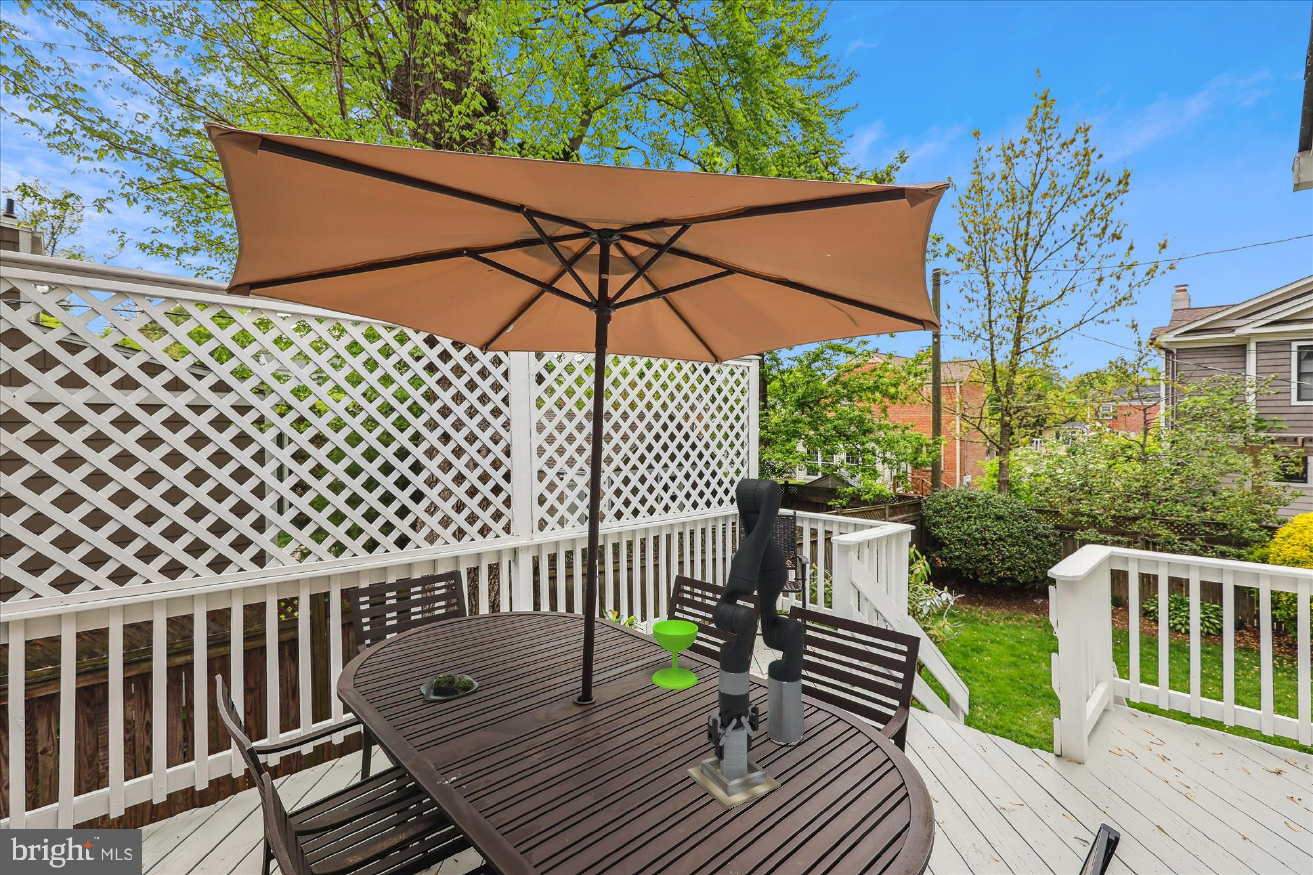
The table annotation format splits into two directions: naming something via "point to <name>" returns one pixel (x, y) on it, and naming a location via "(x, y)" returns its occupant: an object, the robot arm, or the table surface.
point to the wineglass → (675, 652)
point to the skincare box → (735, 755)
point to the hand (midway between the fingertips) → (733, 754)
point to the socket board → (732, 782)
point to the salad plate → (448, 688)
